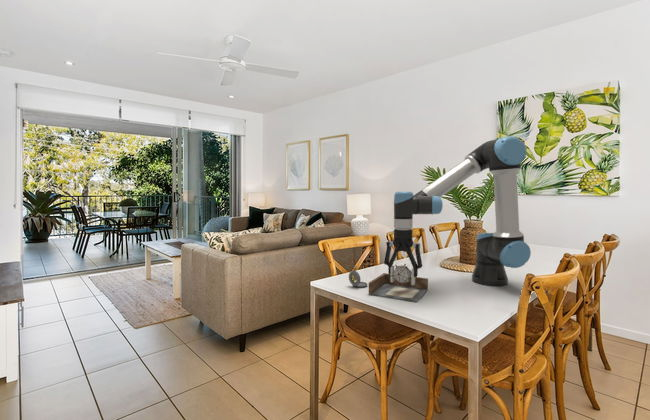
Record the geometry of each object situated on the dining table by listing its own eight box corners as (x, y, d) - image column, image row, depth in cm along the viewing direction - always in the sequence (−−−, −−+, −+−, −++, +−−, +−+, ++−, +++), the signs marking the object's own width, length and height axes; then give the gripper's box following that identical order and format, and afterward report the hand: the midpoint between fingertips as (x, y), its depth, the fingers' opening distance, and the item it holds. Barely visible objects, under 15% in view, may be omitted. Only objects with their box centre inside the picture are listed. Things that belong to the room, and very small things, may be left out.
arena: (427, 290, 145) (428, 278, 145) (416, 302, 130) (416, 289, 129) (383, 284, 155) (383, 273, 155) (368, 294, 140) (368, 282, 139)
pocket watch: (368, 284, 155) (368, 262, 154) (365, 289, 147) (365, 267, 146) (350, 283, 157) (350, 262, 157) (347, 288, 149) (347, 266, 148)
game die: (406, 293, 139) (416, 277, 133) (387, 285, 140) (396, 269, 134) (407, 278, 146) (417, 262, 140) (389, 271, 147) (398, 255, 141)
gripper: (431, 229, 137) (430, 284, 138) (382, 226, 147) (382, 277, 149) (426, 231, 130) (426, 288, 132) (375, 228, 141) (375, 281, 142)
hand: (402, 282), depth 140 cm, fingers closed on game die, 8 cm apart
